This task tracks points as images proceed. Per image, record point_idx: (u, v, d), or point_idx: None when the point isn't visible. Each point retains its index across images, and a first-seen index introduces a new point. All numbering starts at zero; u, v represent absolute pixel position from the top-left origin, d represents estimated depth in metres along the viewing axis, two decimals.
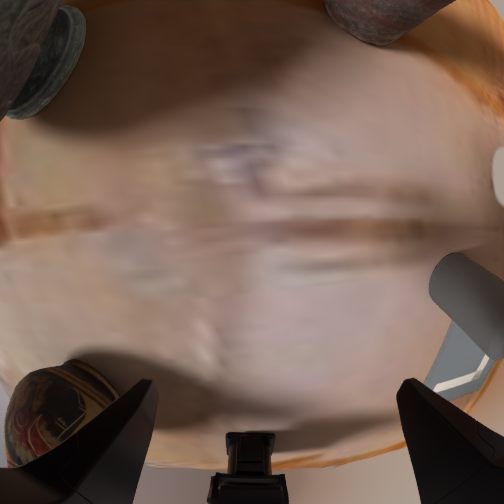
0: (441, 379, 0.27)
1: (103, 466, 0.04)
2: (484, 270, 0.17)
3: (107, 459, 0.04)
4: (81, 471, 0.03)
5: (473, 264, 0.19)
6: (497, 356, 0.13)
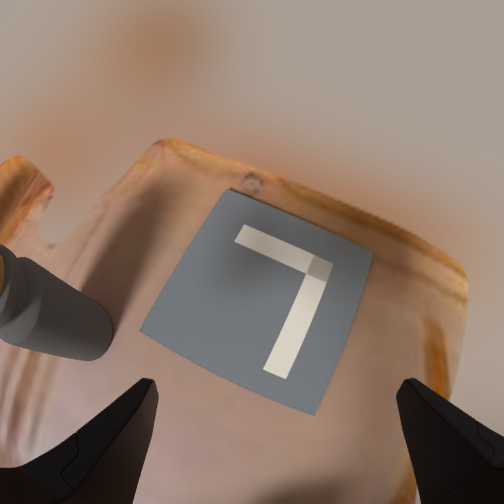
0: (258, 359, 0.20)
1: (103, 466, 0.04)
2: None
3: (107, 459, 0.04)
4: (81, 471, 0.03)
5: None
6: (14, 330, 0.11)
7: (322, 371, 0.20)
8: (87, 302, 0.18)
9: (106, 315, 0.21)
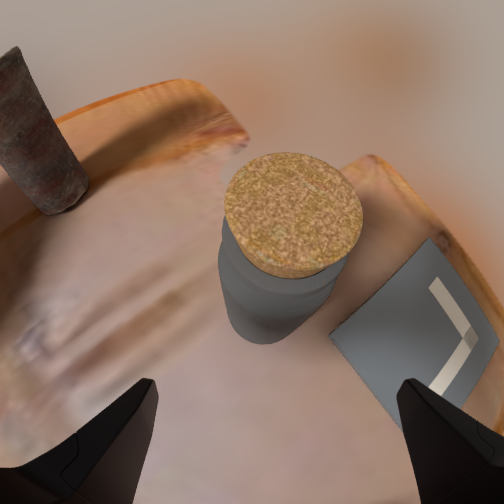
0: None
1: (103, 466, 0.04)
2: None
3: (107, 459, 0.04)
4: (81, 471, 0.03)
5: None
6: (285, 302, 0.11)
7: None
8: None
9: None
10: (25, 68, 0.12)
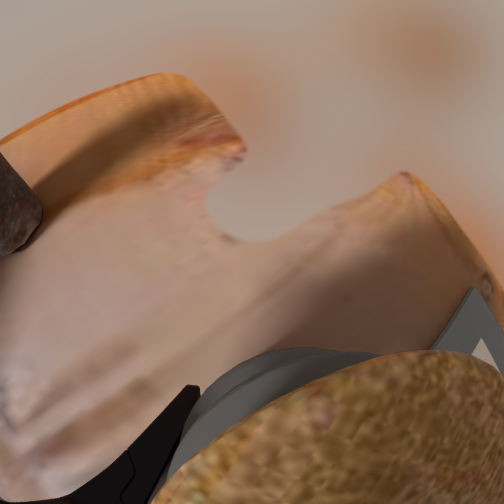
0: None
1: (163, 483, 0.04)
2: None
3: (165, 474, 0.04)
4: (143, 492, 0.03)
5: None
6: None
7: None
8: None
9: None
10: None
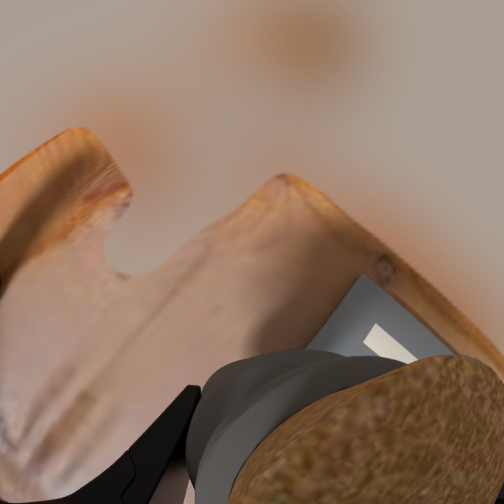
0: None
1: (164, 483, 0.04)
2: (222, 369, 0.11)
3: (167, 474, 0.04)
4: (145, 492, 0.03)
5: (217, 371, 0.12)
6: None
7: None
8: None
9: None
10: None
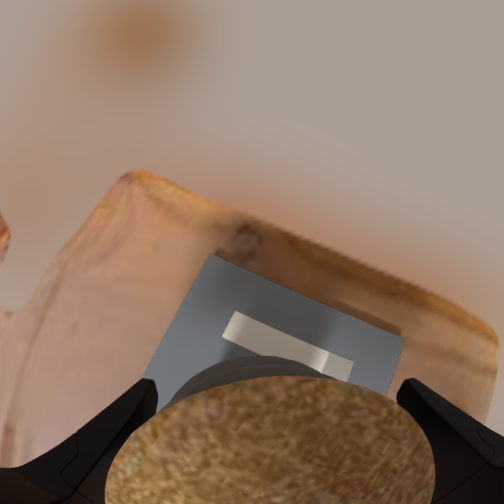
0: None
1: (103, 466, 0.04)
2: None
3: (107, 459, 0.04)
4: (81, 471, 0.03)
5: None
6: None
7: None
8: None
9: None
10: None
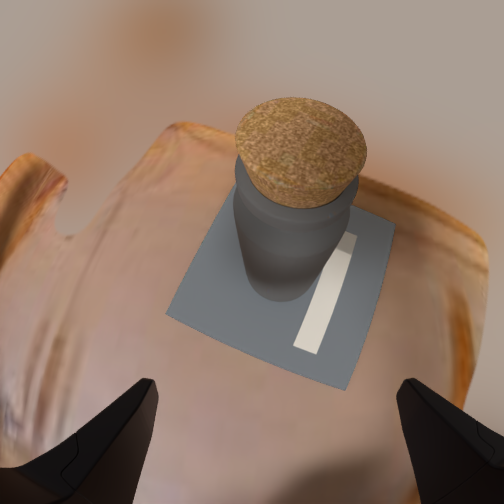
0: (287, 335, 0.21)
1: (103, 466, 0.04)
2: None
3: (107, 459, 0.04)
4: (81, 471, 0.03)
5: None
6: (300, 240, 0.12)
7: (352, 345, 0.20)
8: None
9: None
10: None
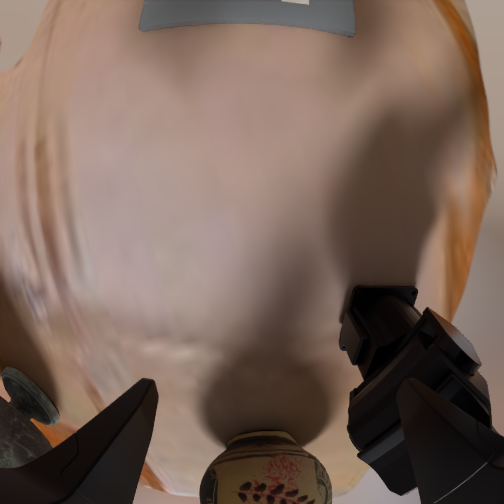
0: None
1: (103, 466, 0.04)
2: None
3: (107, 459, 0.04)
4: (81, 471, 0.03)
5: None
6: None
7: None
8: None
9: None
10: None
